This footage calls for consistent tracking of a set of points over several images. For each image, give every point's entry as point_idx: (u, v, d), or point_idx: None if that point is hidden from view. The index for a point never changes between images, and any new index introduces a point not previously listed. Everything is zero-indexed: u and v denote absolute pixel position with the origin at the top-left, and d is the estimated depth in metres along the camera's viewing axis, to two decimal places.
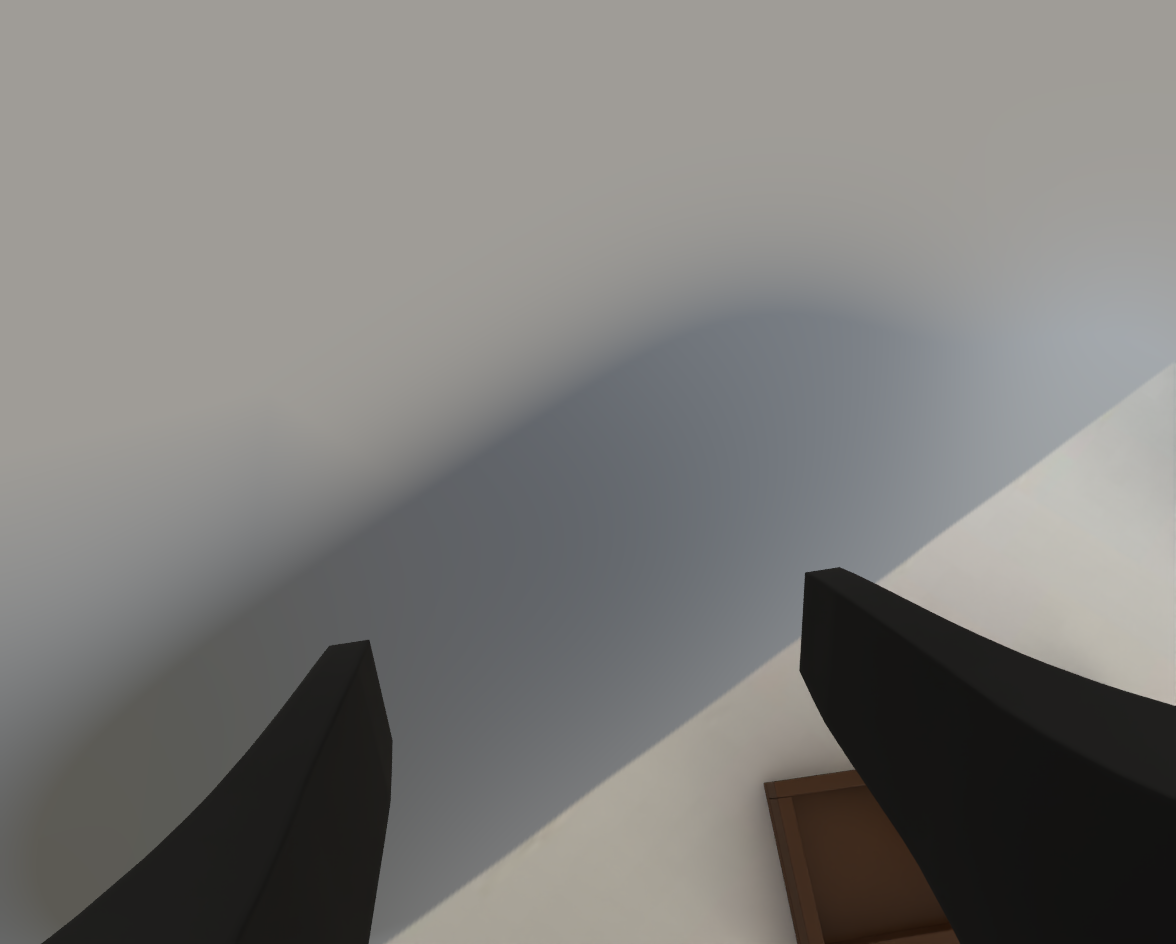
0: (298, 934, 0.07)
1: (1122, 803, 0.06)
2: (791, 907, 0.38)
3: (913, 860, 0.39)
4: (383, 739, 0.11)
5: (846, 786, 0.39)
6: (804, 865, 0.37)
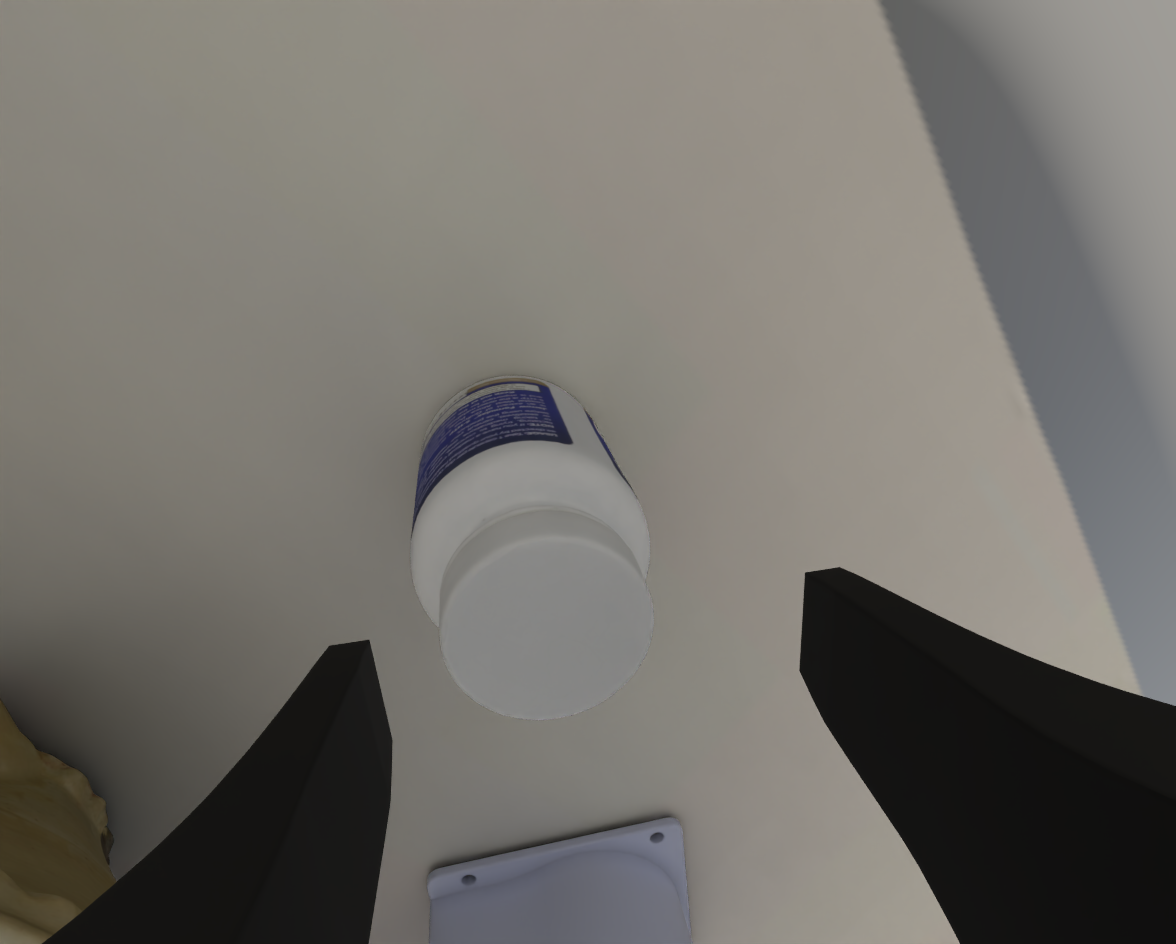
0: (298, 934, 0.07)
1: (1122, 803, 0.06)
2: None
3: None
4: (383, 739, 0.11)
5: None
6: None
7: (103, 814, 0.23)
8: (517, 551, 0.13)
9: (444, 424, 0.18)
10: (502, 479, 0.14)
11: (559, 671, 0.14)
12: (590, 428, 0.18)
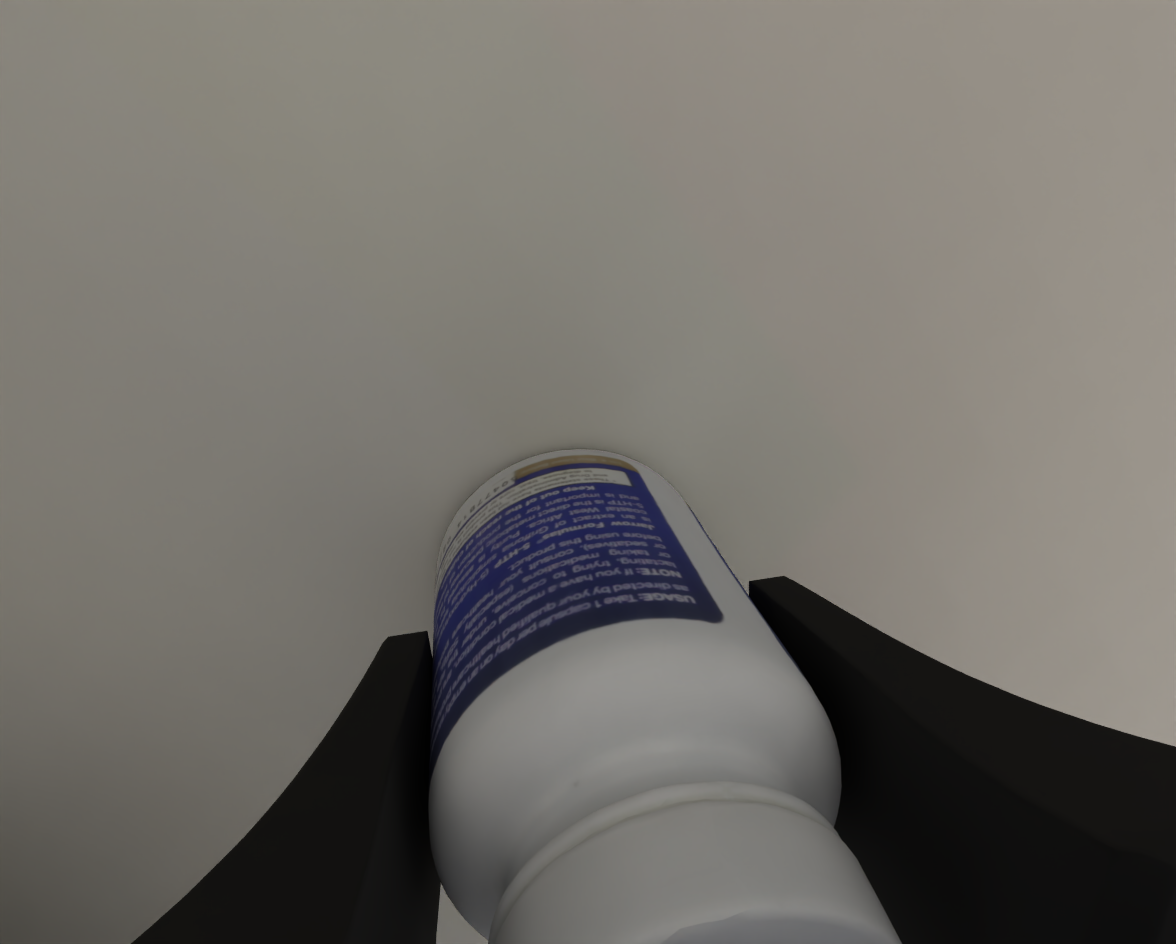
0: (391, 915, 0.07)
1: (1020, 825, 0.06)
2: None
3: None
4: None
5: None
6: None
7: None
8: (679, 939, 0.06)
9: (482, 536, 0.12)
10: (612, 706, 0.08)
11: None
12: (714, 551, 0.12)
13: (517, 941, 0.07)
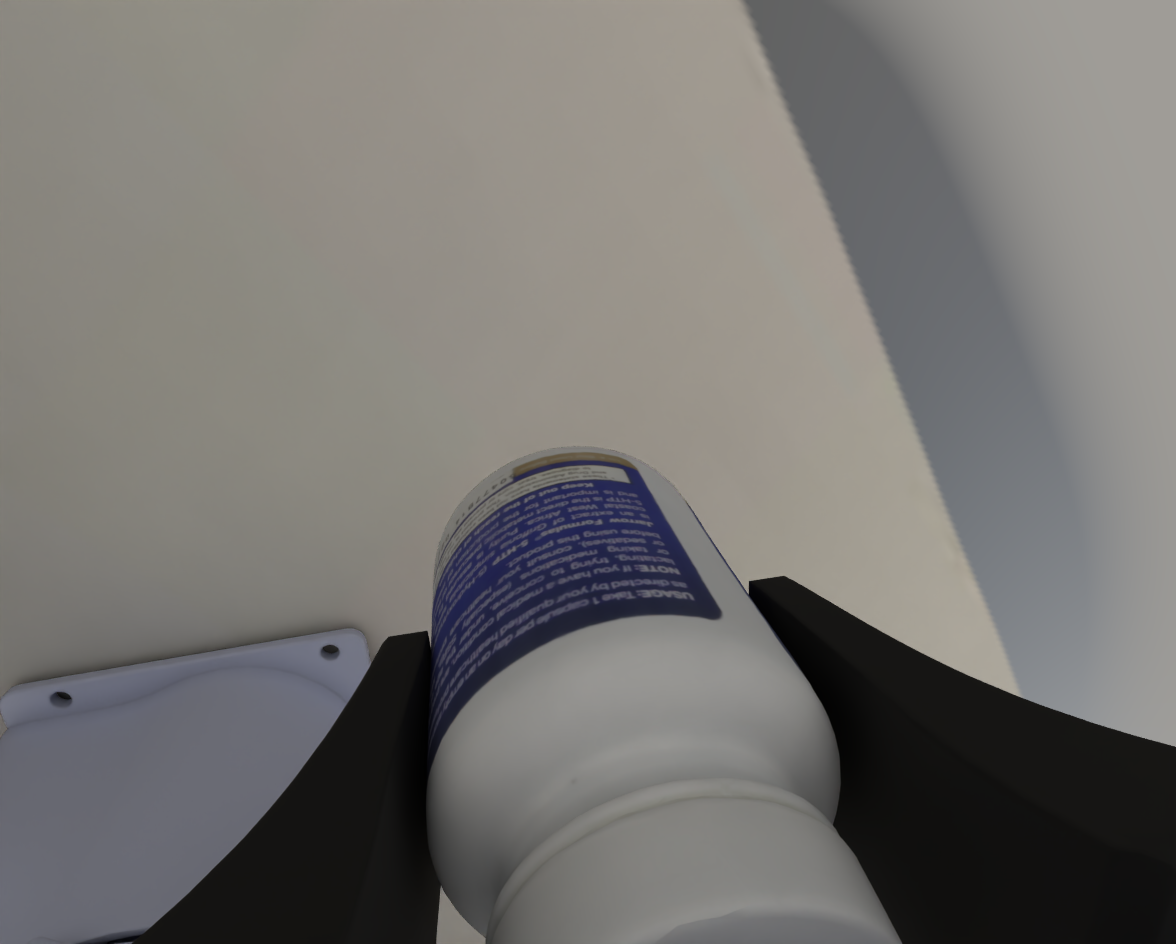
0: (391, 915, 0.07)
1: (1020, 823, 0.06)
2: None
3: None
4: None
5: None
6: None
7: None
8: (677, 937, 0.06)
9: (480, 533, 0.12)
10: (610, 702, 0.08)
11: None
12: (713, 549, 0.12)
13: (514, 938, 0.07)
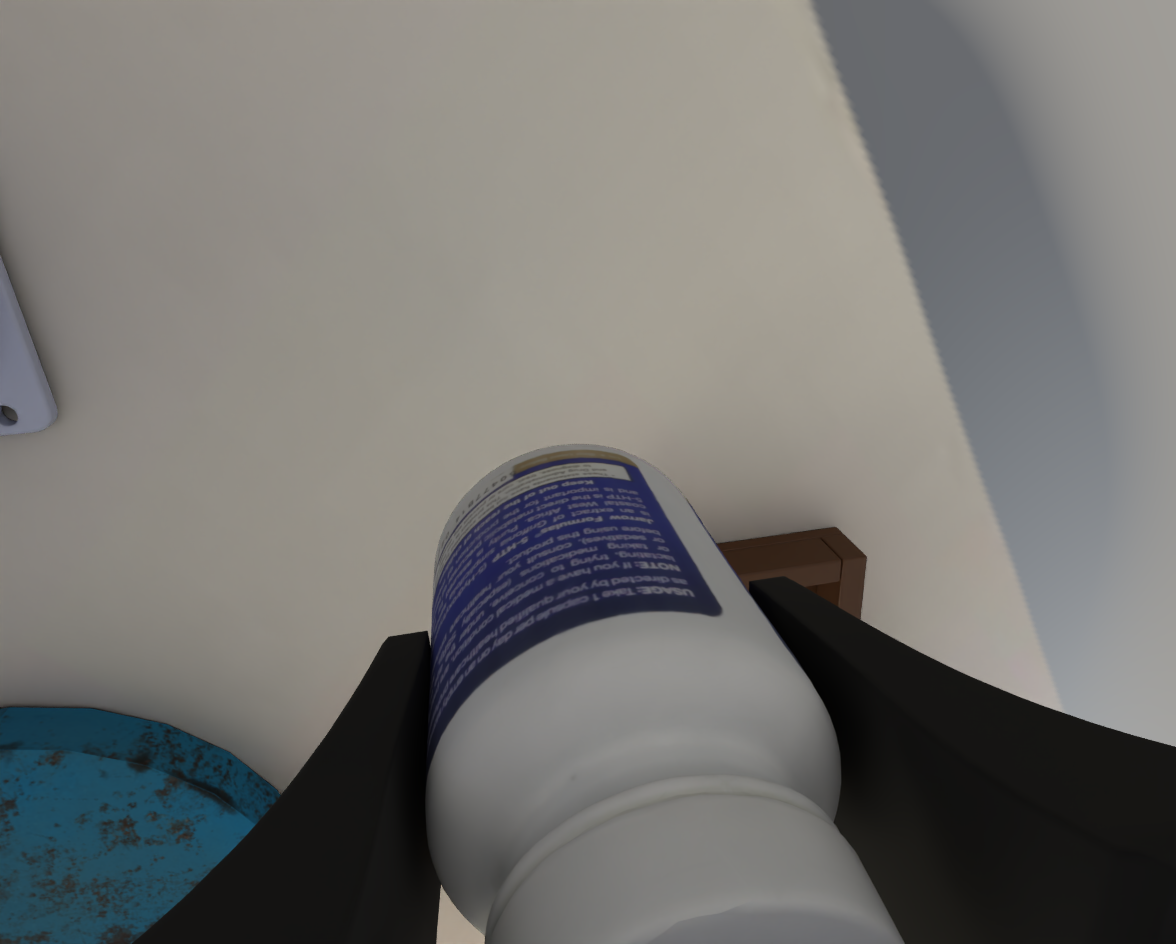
0: (391, 915, 0.07)
1: (1020, 823, 0.06)
2: None
3: None
4: None
5: None
6: None
7: None
8: (676, 933, 0.06)
9: (480, 530, 0.12)
10: (610, 699, 0.08)
11: None
12: (713, 546, 0.11)
13: (514, 935, 0.07)
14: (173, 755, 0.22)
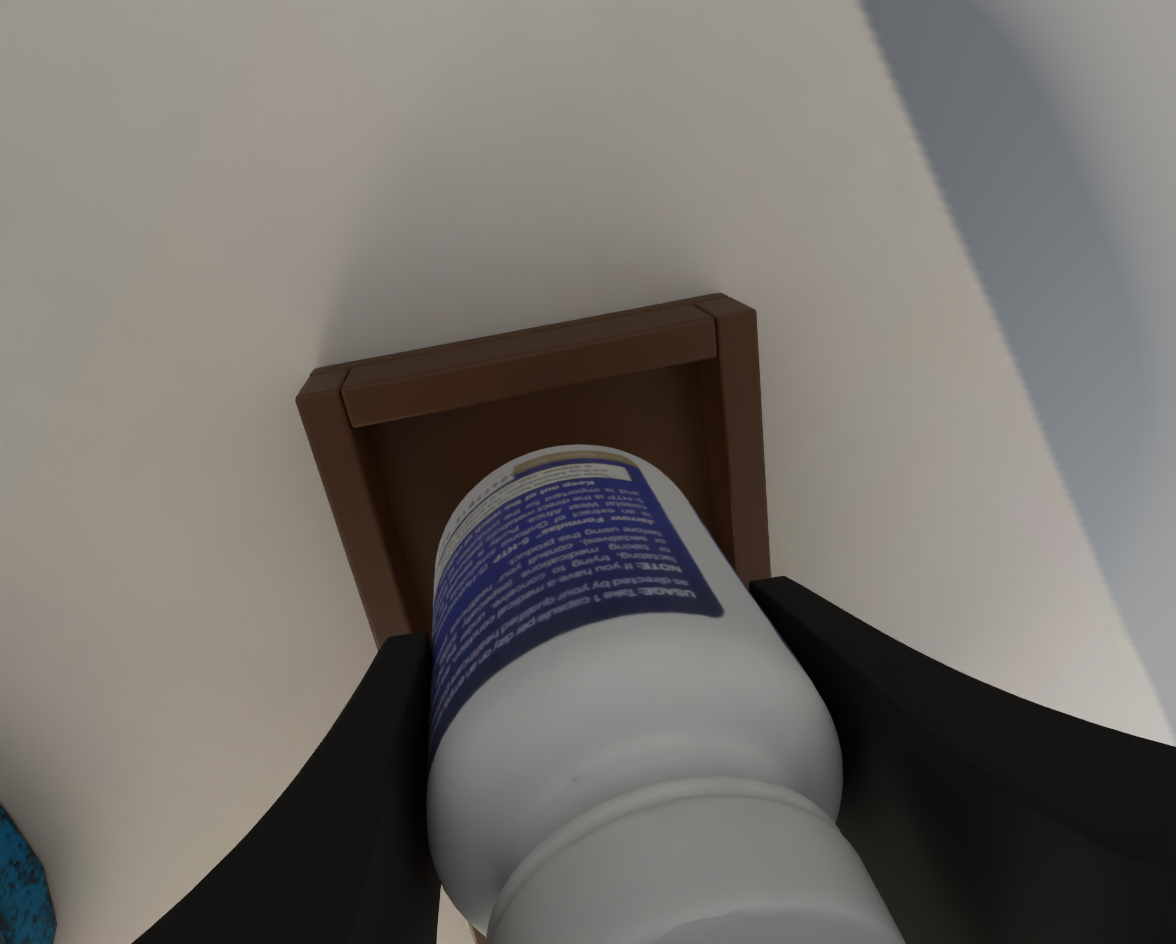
0: (392, 915, 0.07)
1: (1021, 825, 0.06)
2: (439, 348, 0.15)
3: None
4: None
5: (732, 499, 0.15)
6: (550, 383, 0.14)
7: None
8: (679, 936, 0.06)
9: (481, 531, 0.11)
10: (612, 700, 0.08)
11: None
12: (715, 547, 0.11)
13: (515, 937, 0.07)
14: None
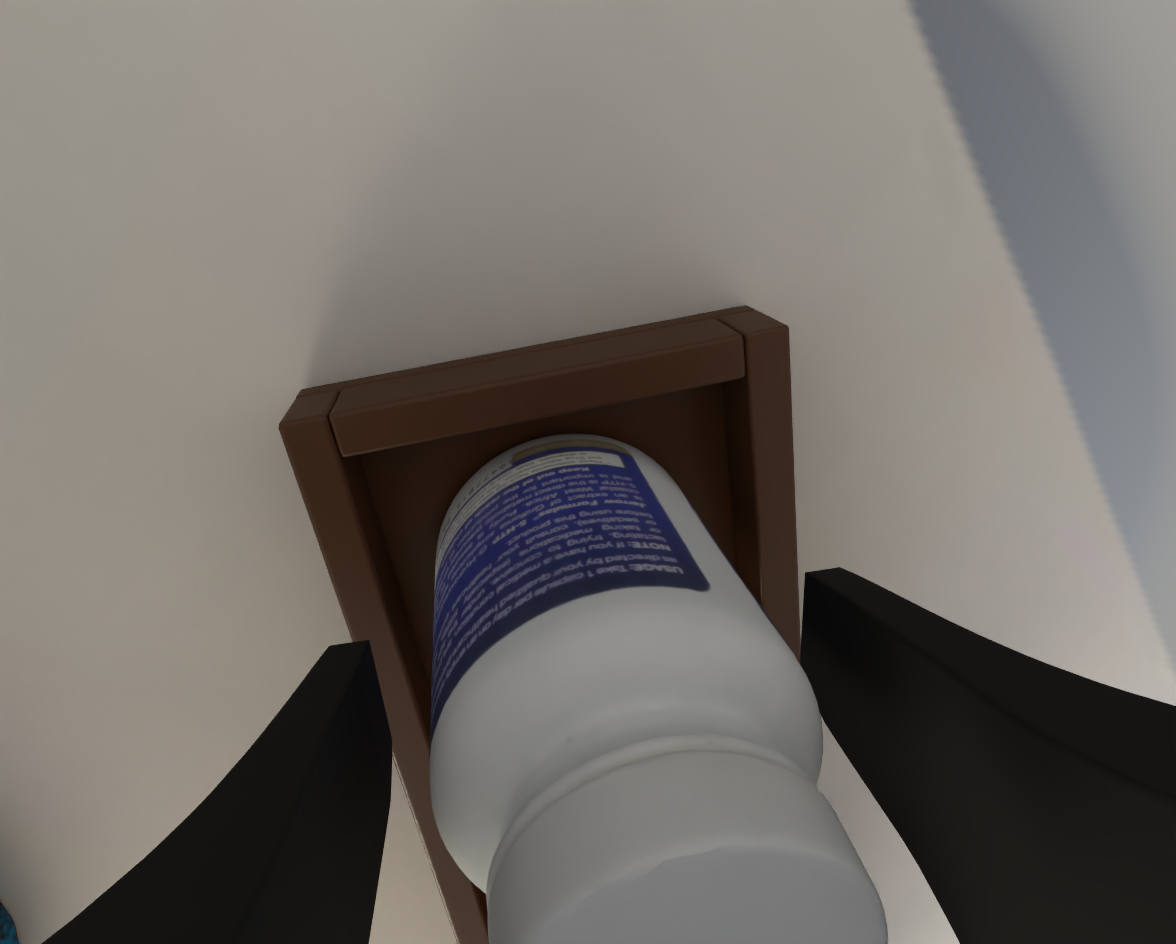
0: (298, 934, 0.07)
1: (1122, 803, 0.06)
2: (439, 367, 0.13)
3: None
4: (383, 739, 0.11)
5: (759, 532, 0.14)
6: (561, 407, 0.12)
7: None
8: (663, 871, 0.06)
9: (480, 515, 0.12)
10: (604, 666, 0.08)
11: None
12: (704, 530, 0.12)
13: (513, 880, 0.07)
14: None
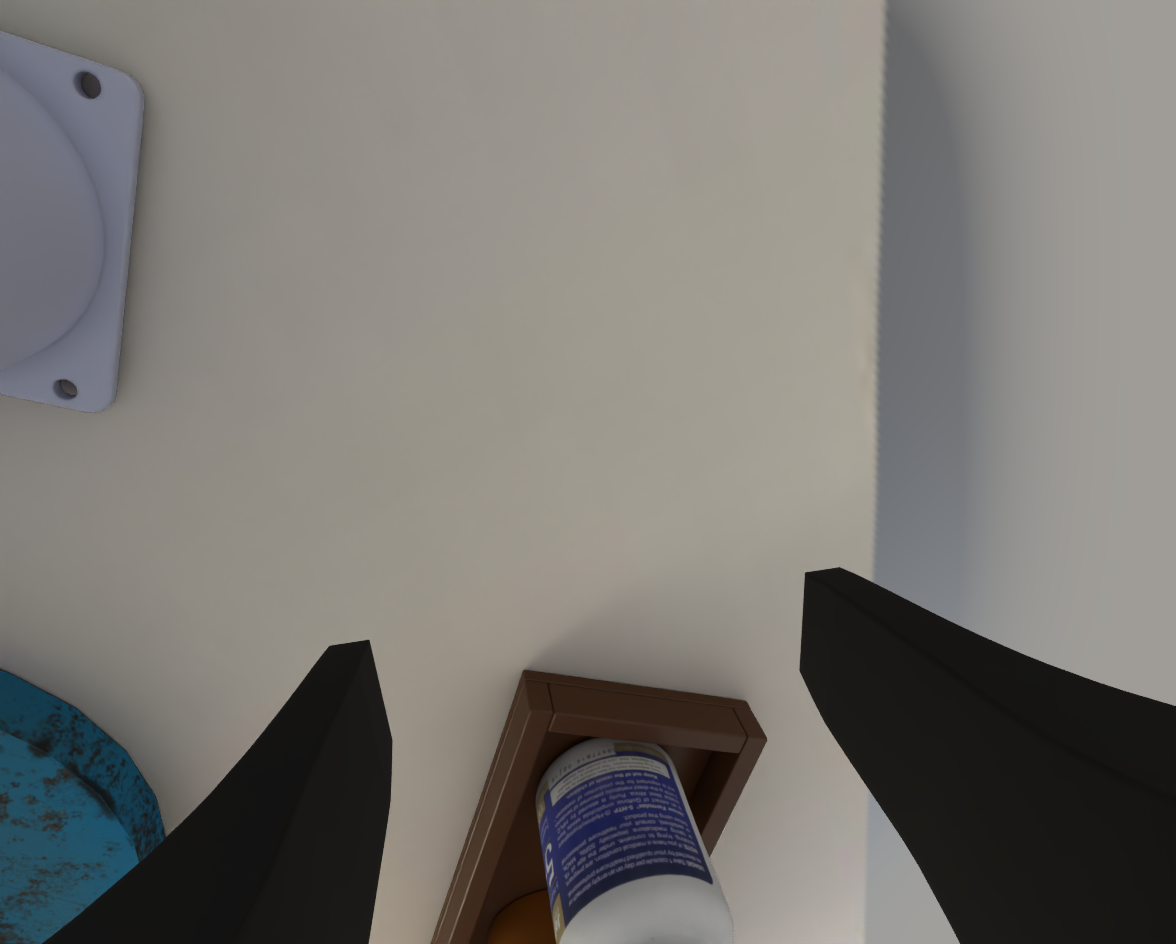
0: (298, 934, 0.07)
1: (1122, 804, 0.06)
2: (596, 685, 0.25)
3: None
4: (383, 739, 0.11)
5: (709, 819, 0.26)
6: (655, 741, 0.24)
7: None
8: None
9: (601, 783, 0.24)
10: (675, 912, 0.20)
11: None
12: None
13: None
14: (73, 746, 0.21)
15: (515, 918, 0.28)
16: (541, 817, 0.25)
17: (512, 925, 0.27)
